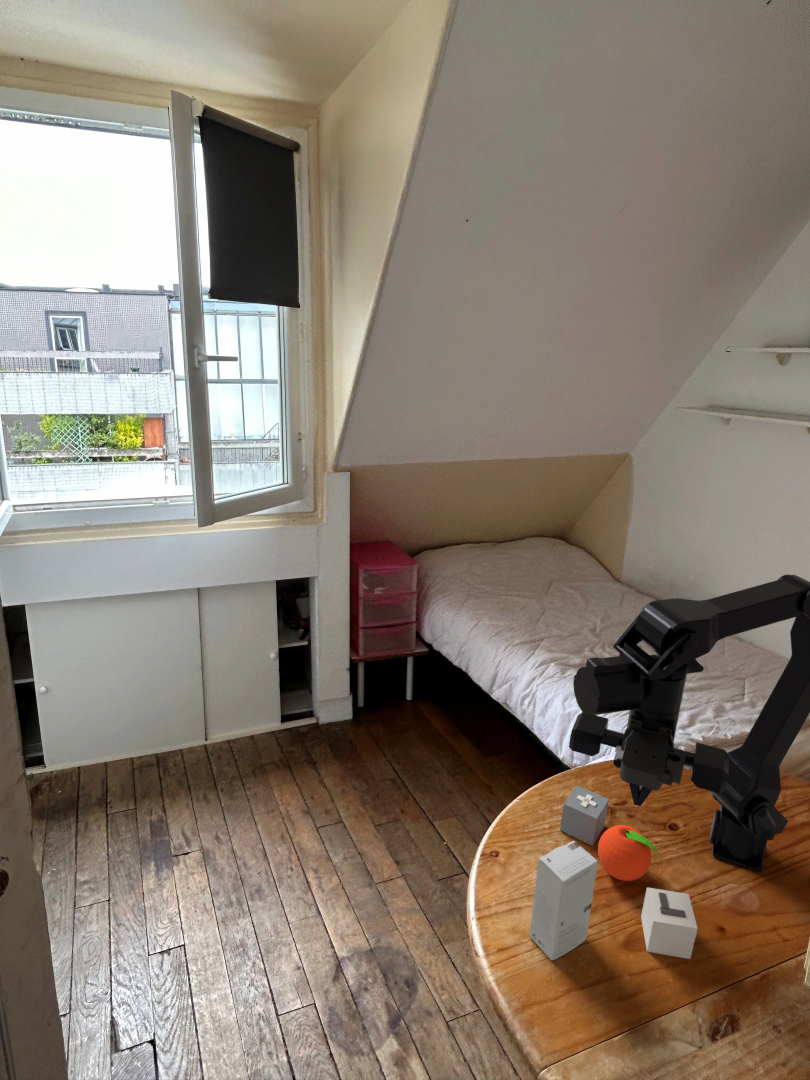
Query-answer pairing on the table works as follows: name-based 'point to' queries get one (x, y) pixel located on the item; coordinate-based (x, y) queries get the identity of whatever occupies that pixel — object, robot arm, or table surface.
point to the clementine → (625, 852)
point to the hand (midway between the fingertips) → (637, 803)
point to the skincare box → (563, 899)
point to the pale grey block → (668, 923)
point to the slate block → (584, 815)
